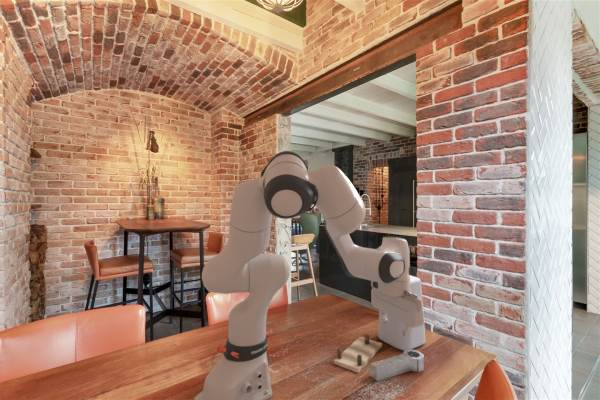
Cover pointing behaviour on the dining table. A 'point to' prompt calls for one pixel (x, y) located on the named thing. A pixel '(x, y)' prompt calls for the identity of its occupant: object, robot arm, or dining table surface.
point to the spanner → (397, 365)
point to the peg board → (357, 354)
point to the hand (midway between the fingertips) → (395, 330)
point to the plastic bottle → (403, 325)
